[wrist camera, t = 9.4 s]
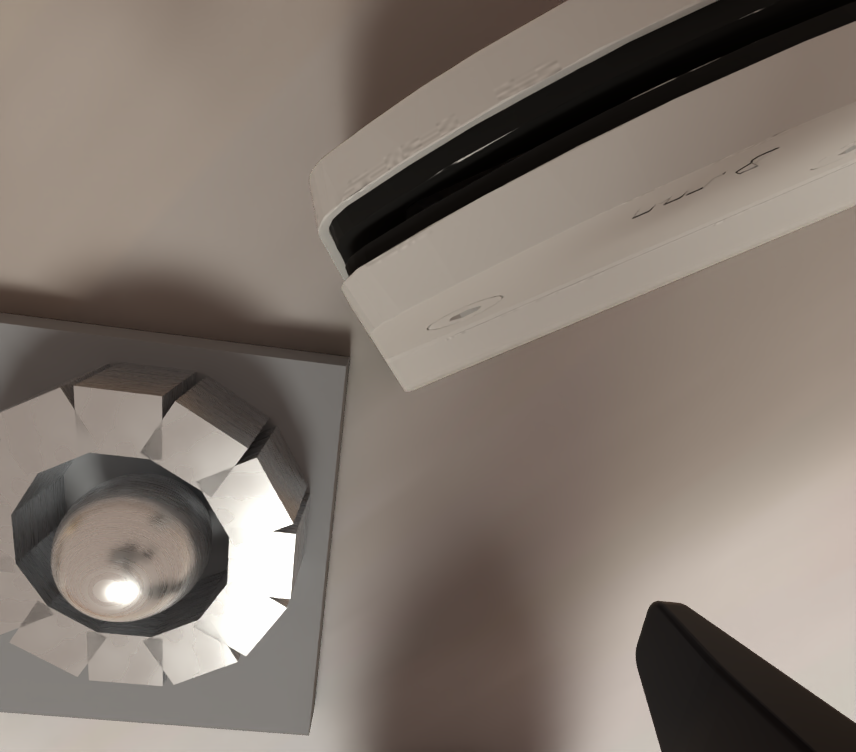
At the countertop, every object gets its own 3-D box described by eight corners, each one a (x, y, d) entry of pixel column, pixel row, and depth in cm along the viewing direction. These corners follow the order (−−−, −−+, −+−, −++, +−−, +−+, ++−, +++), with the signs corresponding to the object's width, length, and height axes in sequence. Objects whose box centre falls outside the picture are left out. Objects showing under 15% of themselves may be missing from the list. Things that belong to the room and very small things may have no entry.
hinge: (401, 395, 19) (310, 403, 9) (352, 276, 19) (212, 156, 9) (861, 203, 18) (1351, -39, 8) (800, 76, 18) (1197, -315, 8)
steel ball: (223, 562, 20) (191, 656, 16) (93, 559, 19) (22, 657, 15) (227, 454, 18) (194, 524, 14) (88, 446, 18) (10, 518, 13)
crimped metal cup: (297, 639, 20) (282, 696, 18) (16, 615, 20) (-38, 670, 17) (319, 386, 18) (305, 413, 15) (-10, 345, 17) (-79, 367, 14)
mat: (313, 709, 23) (309, 735, 22) (-205, 668, 22) (-240, 693, 20) (349, 357, 19) (346, 366, 17) (-303, 274, 17) (-354, 278, 16)
